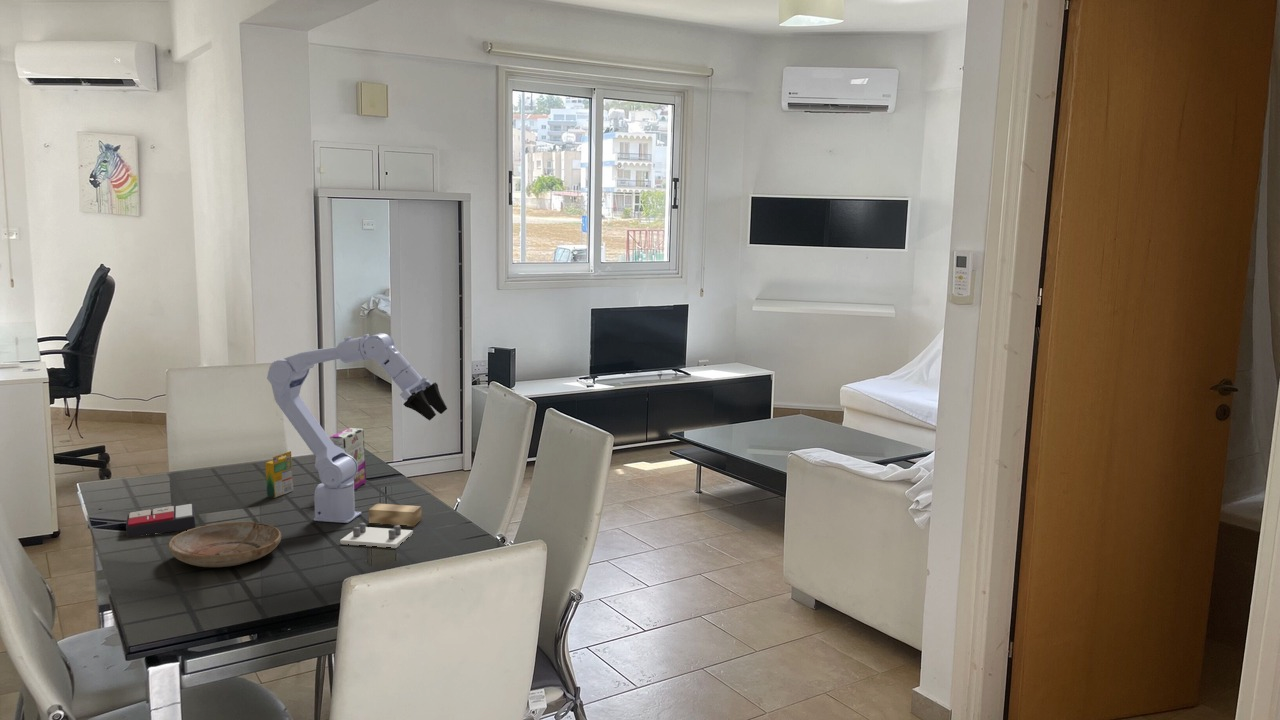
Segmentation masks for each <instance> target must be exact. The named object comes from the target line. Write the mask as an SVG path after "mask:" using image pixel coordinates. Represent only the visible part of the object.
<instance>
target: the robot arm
mask: <svg viewBox="0 0 1280 720" xmlns="http://www.w3.org/2000/svg"><path fill="white" fill-rule="evenodd" d="M370 359H371V360H373V361H376V363H377V364H378V366H380V367H381V368H382V370H384V372H386V373H385V374H387V375H388V376H389V378H390V379H391V380H392V381H393V382H394V383H395V384H396V386H398V388H399V389H400V390H401V391H402V392H401V393H399V395H400V396H401V398H402V399H403V400H404V401H405V402H404V403H403V406H404V407H406V408H408V409H411V410H413V411H415V412H417V413H418V414H420V415H421V416H422V417H424V419H427V420H428V421H431V420H433V419H434V417H436V416H437V414H436V412H437V413H438V414H441V415H442V414H443V413H445V412H446V411H447V410H448V407H447V405H446V403H445V401H444V399H443V397H442V395H441V392H440V389H439V384H438V383H437V382H433V383H432V382H431V380H430V379H428V376H424V377H422V376H421V375H420V373H418V371H416V370H415V368H414V367H413V366H412V365H411V363H410V362H409V361H408V360H407V359H406V358H405V356H404V355H403V354H402V353H401V352H400V351H399V350H398V349H397V348H396V347H395V341H394V339H393V338H392V336H391V335H390V334H387V333H385V332H383V333H382V332H378V333H376V334H373V335H370V334H369V333H367V334H363V336H360V337H355V338H352V336H347V337H346V336H345V337H344V338H343V340H341V341H339V342H338V345H336V346H334V347H325V348H319V349H318V348H317V349H312V350H311V349H310V350H306V351H303V352H299V353H297V354H293V355H290V356H287V357H284V358H283V359H278V360H275V361H273V362H272V363H271V364H270V366H269V368H268V371H267V377H266V379H267V380H268V382H269V383H270V386H271V389H272V393H273V397H274V401H275V403H276V404H277V406H278V407H279V408H280V410H281V411H282V413H284V415H285V417H286V418H287V419H288V421H289V423H290V424H291V426H293V428H294V430H296V432H297V433H298V435H299V436H300V437H301V438H302V440H303V442H304V443H305V444H306V446H307V448H309V451H311V453H312V454H313V455H314V457H315V462H314V467H315V469H316V471H317V472H318V476H319V480H320V481H321V483H319V484H317V486H316V487H315V490H314V494H313V499H314V501H313V502H314V518H313V521H315V522H327V523H343V524H349V523H350V522H352V521H353V520H355V519H356V518H357V517H359V516H361V514H362V511H356V506H355V505H356V502H355V501H356V500H355V498H356V497H355V490H354V476H355V475H356V473H357V471H358V464H357V461H356V460H355V459H354V458H353V457H352V456H350V455H348V454H347V453H346V452H345V450H344V449H342V448H340V447H338V446H336V445H334V443H333V442H332V441H331V439H330V436H329V435H328V434H327V433H326V431H325V430H324V428H323V427H322V425H321V424H320V423H319V421H318V420H317V418H316V417H315V416H314V414H313V413H312V411H311V410H310V409H309V407H308V406H307V404H306V403H305V402H304V401H303V399H302V398H301V396H300V393H301V388H302V386H303V384H304V382H305V380H306V379H307V377H308V375H309V373H310V370H311V369H314V366H315V364H320V363H326V362H331V361H335V360H340V361H341V362H343V363H346V364H348V363H354V362H360V361H365V360H370ZM435 411H436V412H435Z"/></svg>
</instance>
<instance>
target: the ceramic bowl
mask: <svg viewBox="0 0 1280 720" xmlns="http://www.w3.org/2000/svg"><path fill="white" fill-rule="evenodd" d="M281 540H282V532H281V531H280V530H279V529H278V528H277V527H276V526H274V525H270V524H267V523H261V522H256V521H255V522H253V521H229V522H220V523H212V524H208V525H202V526H196V528H193V529H190V530H187V531H181V532H180V533H177V534H176V535H174V536H173V537H172V538H171V539H170V540H169V543H168V548H169V552H170V554H171V555H172V556H173V557H174V558H175V559H176V560H178V561H181V562H183V563H185V564H188V565H190V566H194V567H195V566H196V567H203V568H224V567H226V568H227V567H233V566H240V565H244V564H246V563H247V564H248V563H249V562H250V563H251V562H252V561H256V560H259V559H261V558H263V557H265V556H266V555H268V554H270V553H271V552H273V551H275V549H276V548H277V547H278V546H279V544H280V543H281Z"/></svg>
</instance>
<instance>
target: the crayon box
mask: <svg viewBox="0 0 1280 720" xmlns="http://www.w3.org/2000/svg"><path fill="white" fill-rule="evenodd" d="M292 466H293V465H292V450H291V451H288V452H284V453H280V454H278V455H276V456H275V455H274V456H272V460H269V461H266V462H265V480H266V496H267V497H268V498H274V499H276V498H278V497H281V496H284V495H286V494H289V493H291V492H294V481H293V467H292Z"/></svg>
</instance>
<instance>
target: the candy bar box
mask: <svg viewBox="0 0 1280 720" xmlns="http://www.w3.org/2000/svg"><path fill="white" fill-rule="evenodd" d="M364 431H365V429H364V428H358V427H348V428H346V429H344V430H342V431H340V432H338V433H335V434H333V435H330V436H329V438H330V439H331V441H332V442H333V443H334V445H336V446H338V447H340V448H342V449H344V450H345V452H346V453H347V454H348V455H350V456H352V457H353V458H354V459H355V460H356V461H357V464H358V471H357V473H356V475H355V476H354V491H355V490H357V489H358V488H360V487H362V486H363V485H365V484H366V483H367V476H366V475H367V473H366V456H365V455H366V454H365V451H366V450H365V437H364V435H365V434H364Z"/></svg>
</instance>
